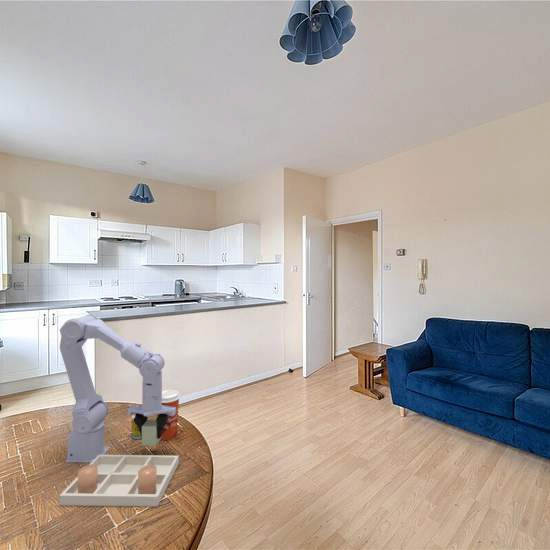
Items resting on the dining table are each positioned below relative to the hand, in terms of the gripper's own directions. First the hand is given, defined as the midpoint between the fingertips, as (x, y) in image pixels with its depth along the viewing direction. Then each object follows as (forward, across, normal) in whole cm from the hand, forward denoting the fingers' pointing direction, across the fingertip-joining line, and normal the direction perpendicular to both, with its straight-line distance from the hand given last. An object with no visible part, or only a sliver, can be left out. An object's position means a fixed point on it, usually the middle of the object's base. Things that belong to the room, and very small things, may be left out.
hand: (151, 436), depth 95 cm
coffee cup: (+6, +1, +12) cm, 13 cm away
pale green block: (+2, 0, 0) cm, 2 cm away
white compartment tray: (+6, -2, -13) cm, 14 cm away
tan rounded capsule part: (+5, +6, -17) cm, 19 cm away
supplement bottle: (+6, -9, +12) cm, 16 cm away
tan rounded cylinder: (+5, -10, -17) cm, 20 cm away
